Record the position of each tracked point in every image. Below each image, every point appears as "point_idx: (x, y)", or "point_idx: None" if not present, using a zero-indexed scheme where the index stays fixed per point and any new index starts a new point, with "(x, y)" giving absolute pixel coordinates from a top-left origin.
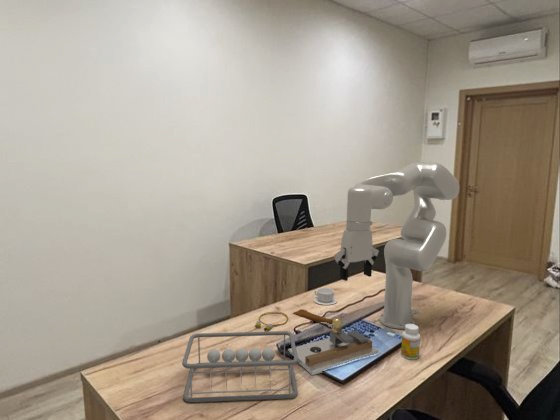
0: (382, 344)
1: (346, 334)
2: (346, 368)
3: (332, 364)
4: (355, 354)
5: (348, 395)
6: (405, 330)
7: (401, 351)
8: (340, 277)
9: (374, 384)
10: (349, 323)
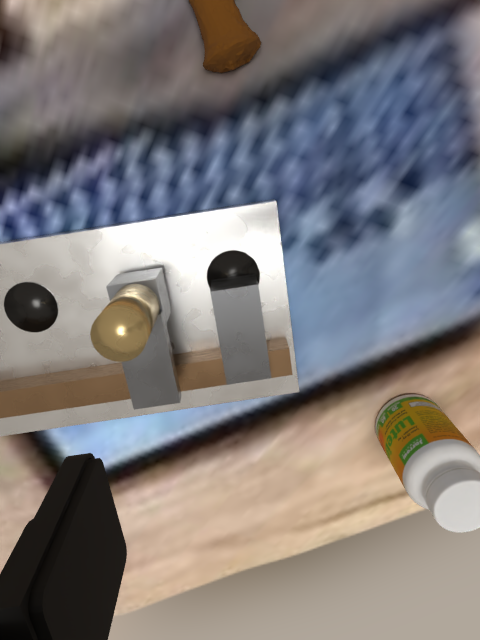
0: (366, 318)
1: (167, 360)
2: (125, 426)
3: (64, 426)
4: (187, 392)
5: None
6: (428, 487)
7: (383, 418)
8: (67, 466)
9: (172, 522)
10: (354, 46)
